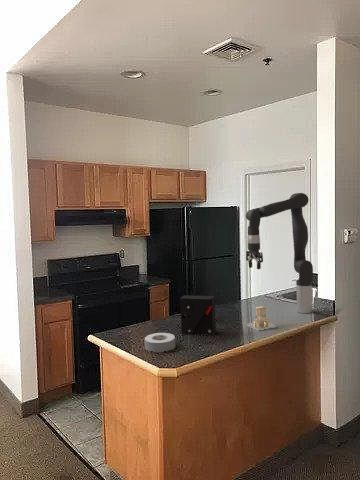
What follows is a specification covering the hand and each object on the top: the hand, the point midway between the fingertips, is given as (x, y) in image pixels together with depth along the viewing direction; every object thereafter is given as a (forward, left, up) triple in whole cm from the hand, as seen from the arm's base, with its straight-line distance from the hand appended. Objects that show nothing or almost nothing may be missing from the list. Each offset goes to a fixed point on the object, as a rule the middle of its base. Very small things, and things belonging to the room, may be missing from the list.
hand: (254, 268), depth 247 cm
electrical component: (+44, -13, -30) cm, 55 cm away
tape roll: (+73, -17, -31) cm, 81 cm away
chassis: (+18, +12, -30) cm, 37 cm away
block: (+18, +12, -29) cm, 36 cm away
